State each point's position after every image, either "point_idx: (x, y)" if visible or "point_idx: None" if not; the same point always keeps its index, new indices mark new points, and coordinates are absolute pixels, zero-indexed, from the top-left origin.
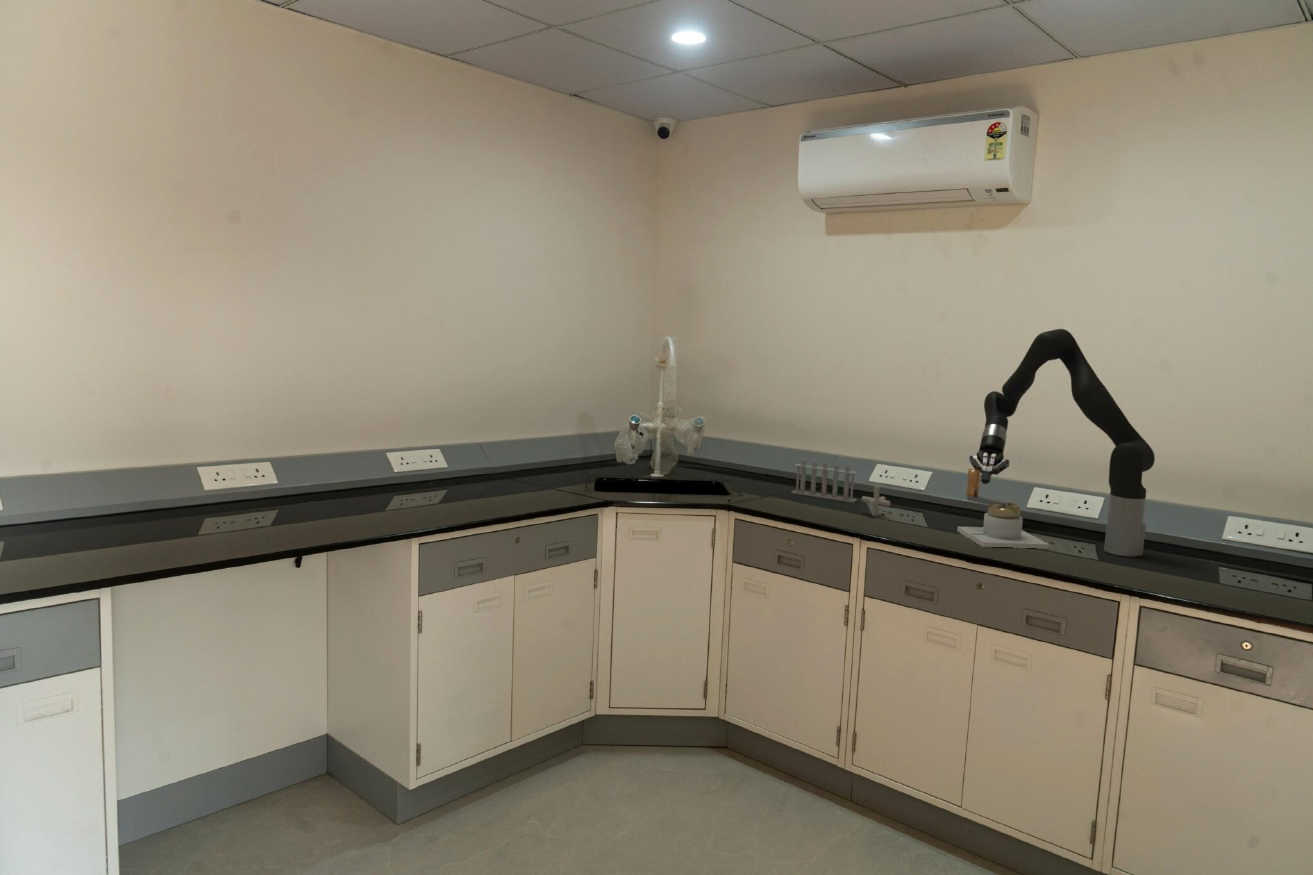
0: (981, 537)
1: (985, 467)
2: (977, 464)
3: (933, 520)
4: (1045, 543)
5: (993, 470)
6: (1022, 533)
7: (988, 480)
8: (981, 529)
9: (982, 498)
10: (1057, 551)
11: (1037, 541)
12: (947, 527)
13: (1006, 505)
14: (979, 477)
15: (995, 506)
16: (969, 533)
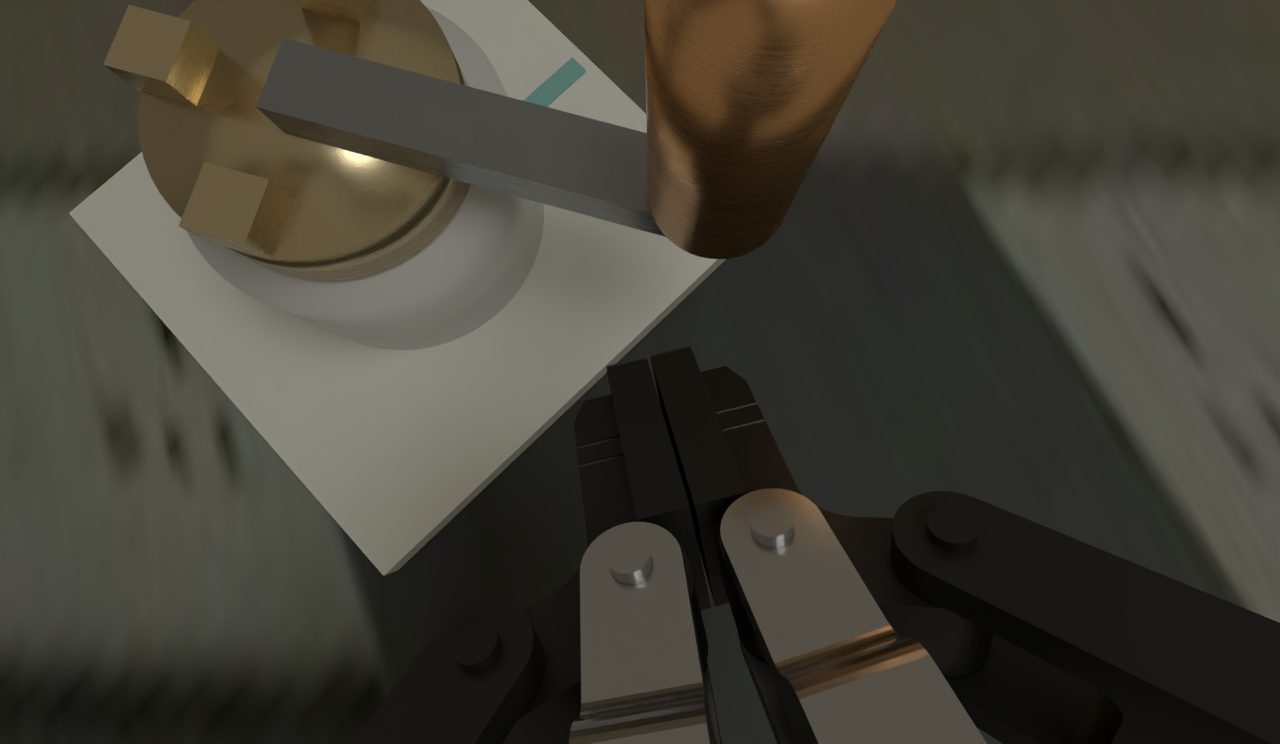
0: (490, 27)
1: (770, 591)
2: (1057, 594)
3: (1056, 445)
4: (94, 215)
5: (550, 631)
6: (307, 403)
7: (595, 405)
8: (587, 274)
9: (559, 129)
10: (40, 213)
11: (153, 231)
12: (858, 293)
13: (274, 122)
14: (646, 45)
15: None
16: (598, 74)
